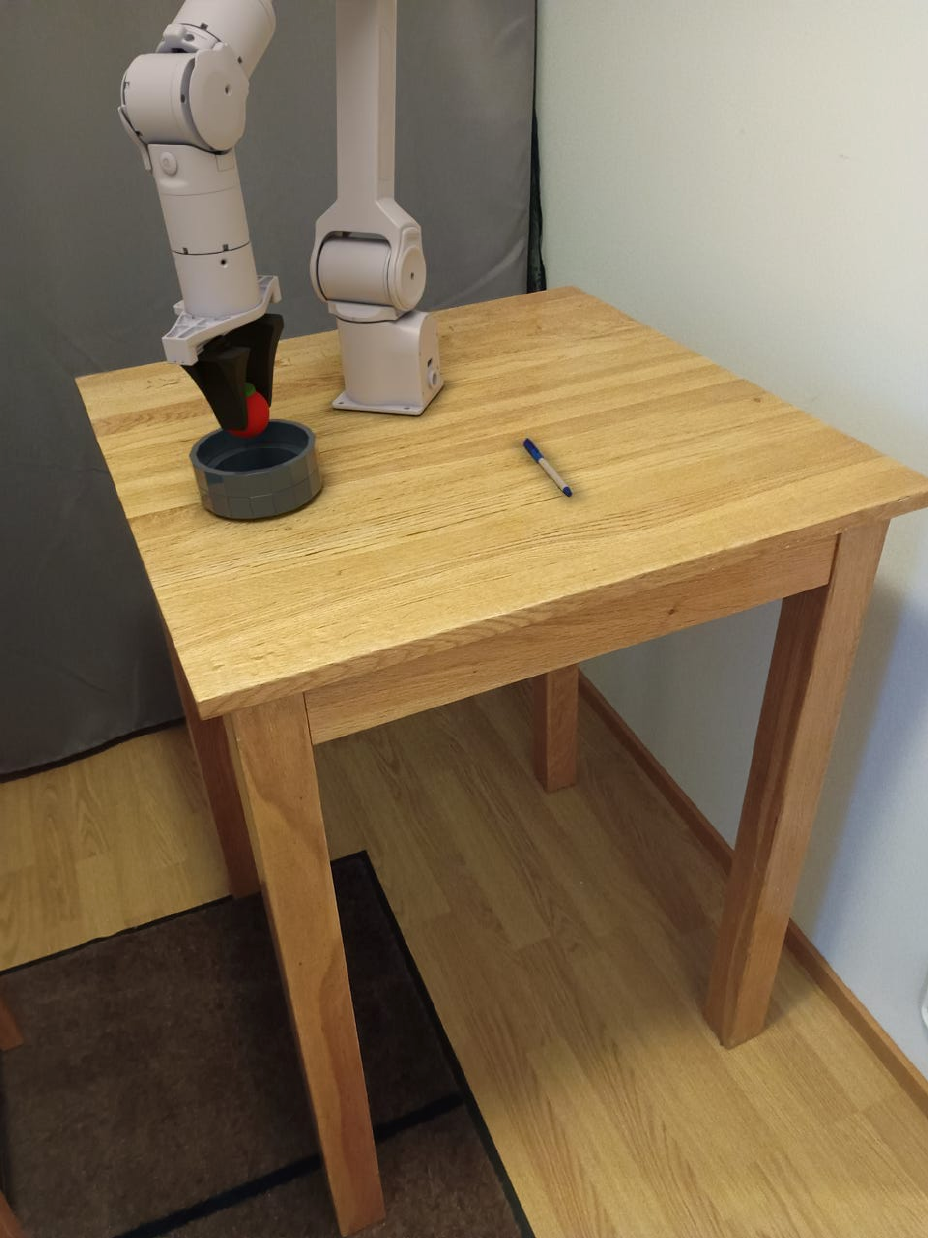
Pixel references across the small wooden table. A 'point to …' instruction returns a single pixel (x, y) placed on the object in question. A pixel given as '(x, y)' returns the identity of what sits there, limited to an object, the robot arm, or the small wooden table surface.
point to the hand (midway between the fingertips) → (247, 417)
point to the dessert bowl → (257, 470)
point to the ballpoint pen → (546, 466)
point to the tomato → (254, 413)
